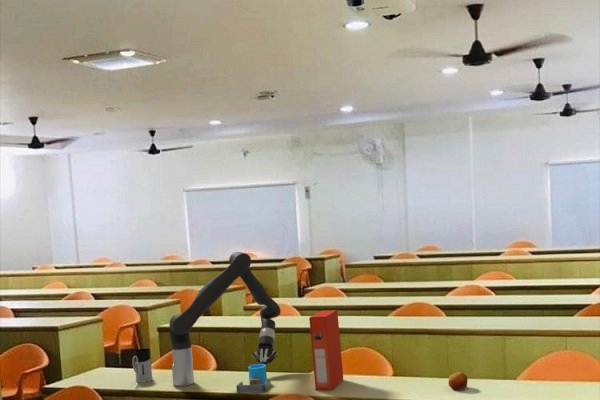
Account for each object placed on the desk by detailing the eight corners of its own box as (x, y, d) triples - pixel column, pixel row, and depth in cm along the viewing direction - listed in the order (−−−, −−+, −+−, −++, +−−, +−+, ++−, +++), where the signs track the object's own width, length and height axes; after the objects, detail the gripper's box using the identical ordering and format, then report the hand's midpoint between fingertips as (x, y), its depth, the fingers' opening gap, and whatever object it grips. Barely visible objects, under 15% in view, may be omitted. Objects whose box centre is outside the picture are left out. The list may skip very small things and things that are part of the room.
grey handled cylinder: (156, 377, 329) (154, 348, 329) (142, 385, 315) (140, 354, 316) (140, 377, 331) (138, 348, 332) (126, 385, 318) (124, 354, 318)
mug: (263, 386, 296) (261, 368, 297) (246, 386, 299) (245, 368, 299) (272, 379, 308) (271, 362, 308) (257, 379, 311) (255, 362, 311)
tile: (250, 388, 294) (249, 380, 294) (252, 386, 298) (251, 377, 298) (258, 388, 293) (257, 379, 294) (260, 386, 297) (260, 377, 297)
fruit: (469, 389, 263) (457, 371, 266) (453, 397, 267) (442, 380, 269) (475, 383, 270) (464, 366, 272) (460, 392, 274) (449, 375, 276)
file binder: (314, 390, 284) (309, 317, 284) (326, 379, 300) (321, 310, 301) (332, 390, 281) (326, 316, 282) (343, 379, 297) (338, 310, 298)
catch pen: (236, 392, 290) (236, 385, 290) (241, 388, 296) (240, 381, 296) (265, 391, 287) (264, 385, 287) (268, 387, 294) (268, 381, 294)
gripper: (251, 335, 321) (247, 366, 308) (278, 334, 318) (274, 365, 306) (255, 343, 326) (251, 374, 314) (281, 342, 323) (277, 374, 311)
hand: (262, 370), depth 310 cm, fingers closed
